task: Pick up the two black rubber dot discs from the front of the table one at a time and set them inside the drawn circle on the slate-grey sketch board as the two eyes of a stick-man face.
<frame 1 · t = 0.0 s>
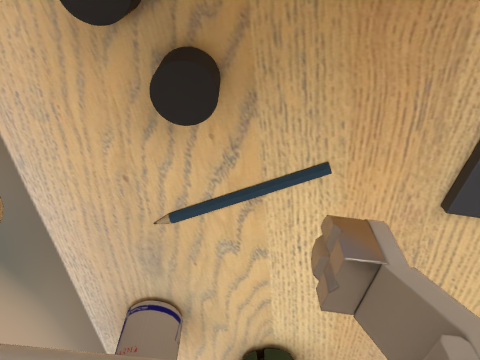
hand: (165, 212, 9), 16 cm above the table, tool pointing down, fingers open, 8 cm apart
pencil: (237, 192, 30), on the table
beverage can: (155, 313, 38), on the table
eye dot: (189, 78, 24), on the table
character mug: (267, 357, 42), on the table
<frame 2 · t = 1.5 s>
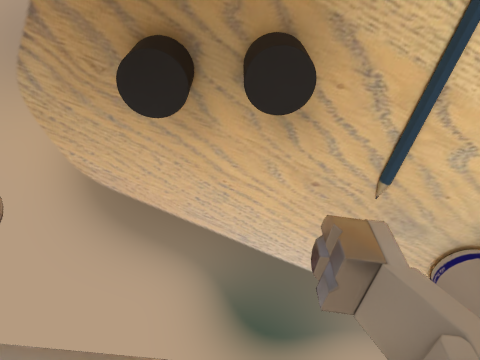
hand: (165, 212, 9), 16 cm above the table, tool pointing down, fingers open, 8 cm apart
pencil: (418, 105, 25), on the table
beverage can: (459, 266, 33), on the table
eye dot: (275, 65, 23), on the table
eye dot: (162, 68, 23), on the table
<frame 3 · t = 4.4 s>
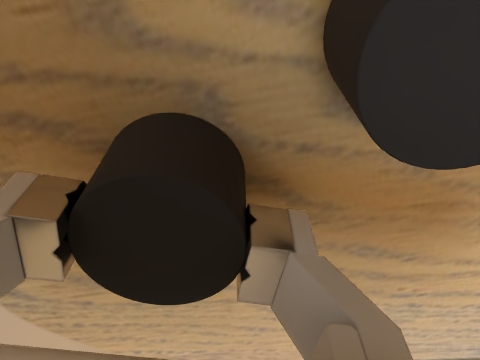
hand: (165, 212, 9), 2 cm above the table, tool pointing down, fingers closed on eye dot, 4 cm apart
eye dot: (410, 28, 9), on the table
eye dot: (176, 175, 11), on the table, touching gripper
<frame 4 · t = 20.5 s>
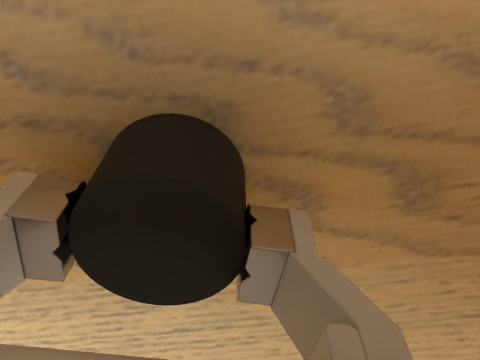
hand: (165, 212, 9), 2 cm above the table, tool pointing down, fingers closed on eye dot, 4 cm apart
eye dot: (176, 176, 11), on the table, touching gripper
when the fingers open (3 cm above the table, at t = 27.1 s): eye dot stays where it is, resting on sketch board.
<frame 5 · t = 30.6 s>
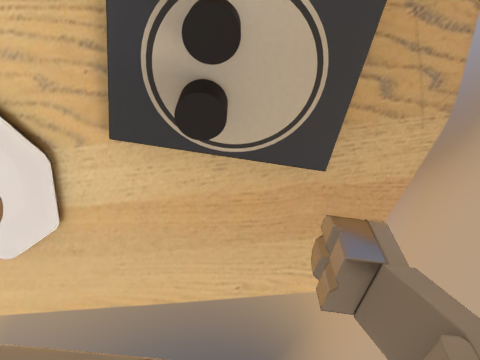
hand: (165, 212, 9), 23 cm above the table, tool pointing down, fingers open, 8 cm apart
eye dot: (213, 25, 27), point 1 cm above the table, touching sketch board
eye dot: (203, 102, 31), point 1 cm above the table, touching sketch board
sketch board: (234, 66, 30), on the table
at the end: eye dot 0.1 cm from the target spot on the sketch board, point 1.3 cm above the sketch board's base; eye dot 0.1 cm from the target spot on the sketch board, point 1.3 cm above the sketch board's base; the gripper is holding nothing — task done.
